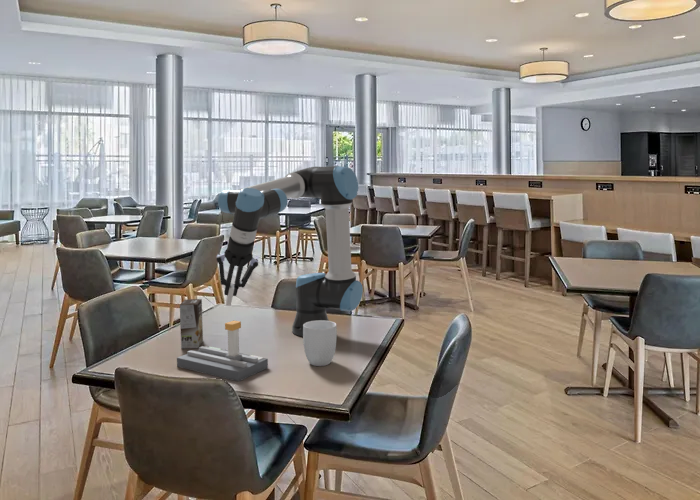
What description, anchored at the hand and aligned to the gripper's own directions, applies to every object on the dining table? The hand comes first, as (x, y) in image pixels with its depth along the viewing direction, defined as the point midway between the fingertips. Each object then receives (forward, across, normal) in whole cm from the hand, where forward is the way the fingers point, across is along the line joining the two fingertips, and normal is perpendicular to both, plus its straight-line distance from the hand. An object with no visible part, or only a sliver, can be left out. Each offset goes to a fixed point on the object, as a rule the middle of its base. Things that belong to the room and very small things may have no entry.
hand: (228, 303), depth 179 cm
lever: (+15, +4, -9) cm, 18 cm away
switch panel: (+20, +2, -7) cm, 21 cm away
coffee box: (+33, -7, +18) cm, 38 cm away
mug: (+14, +32, -8) cm, 36 cm away
